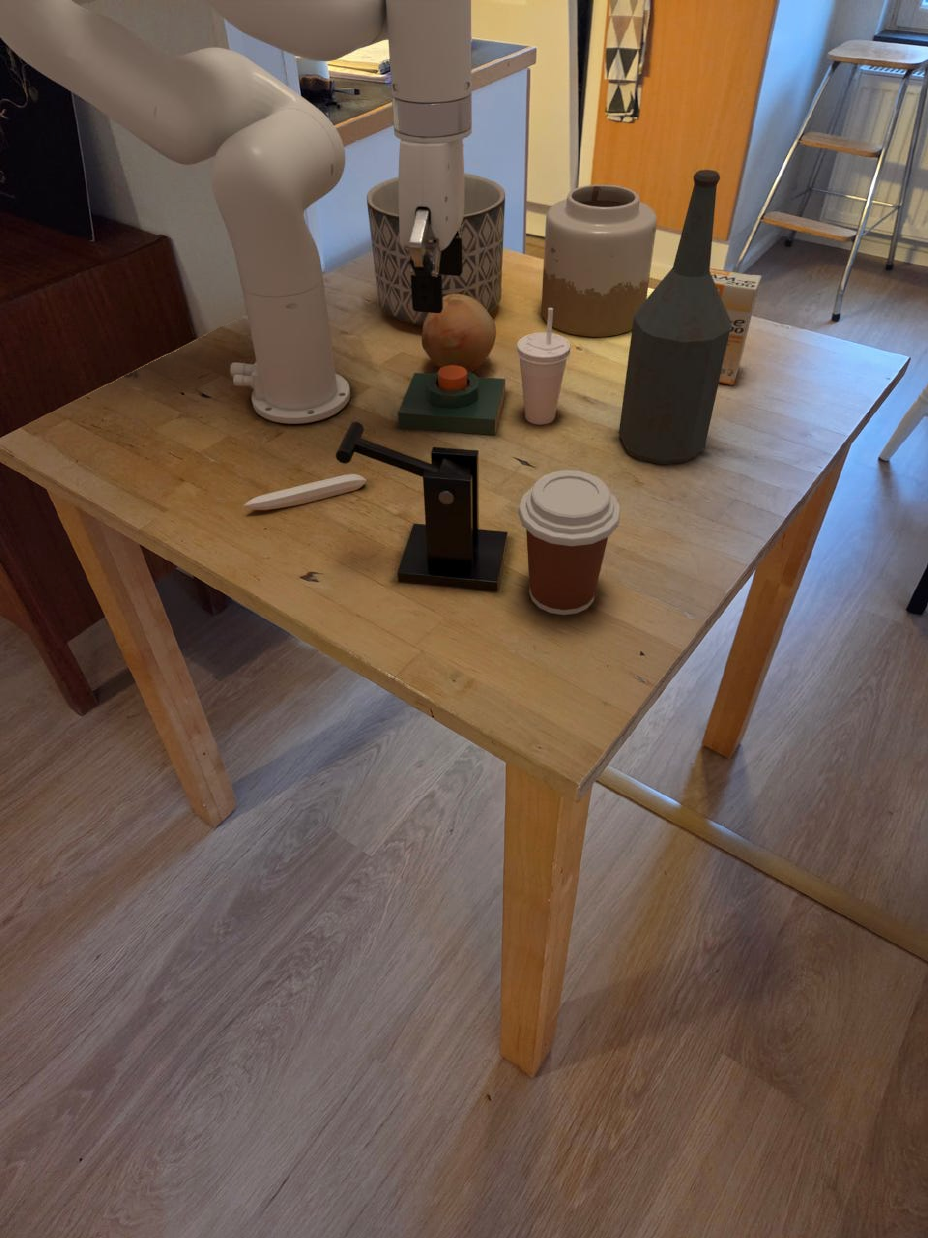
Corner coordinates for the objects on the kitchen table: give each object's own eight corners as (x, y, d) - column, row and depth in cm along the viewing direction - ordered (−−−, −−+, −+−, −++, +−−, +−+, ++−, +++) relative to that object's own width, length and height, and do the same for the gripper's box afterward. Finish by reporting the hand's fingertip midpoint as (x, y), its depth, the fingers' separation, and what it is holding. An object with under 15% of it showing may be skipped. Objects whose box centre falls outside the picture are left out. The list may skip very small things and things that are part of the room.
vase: (617, 347, 119) (632, 223, 107) (522, 322, 125) (527, 202, 113) (659, 306, 128) (677, 188, 117) (569, 285, 134) (578, 171, 123)
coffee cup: (559, 550, 87) (567, 450, 79) (628, 592, 83) (644, 492, 74) (496, 591, 83) (497, 491, 75) (565, 639, 78) (575, 537, 70)
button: (435, 391, 104) (435, 378, 103) (441, 376, 107) (440, 363, 105) (464, 393, 104) (464, 380, 102) (469, 378, 106) (469, 365, 105)
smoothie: (562, 432, 103) (570, 322, 94) (510, 427, 104) (513, 318, 95) (568, 406, 108) (576, 298, 98) (518, 401, 109) (522, 294, 99)
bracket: (397, 581, 84) (388, 483, 76) (414, 532, 90) (407, 435, 82) (497, 591, 83) (499, 492, 75) (507, 540, 89) (510, 443, 80)
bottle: (653, 411, 107) (695, 149, 86) (720, 441, 101) (782, 170, 81) (601, 444, 101) (633, 173, 81) (669, 477, 96) (721, 197, 75)
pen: (243, 511, 93) (240, 498, 92) (364, 480, 97) (363, 468, 96) (246, 519, 92) (243, 506, 91) (368, 487, 96) (367, 475, 95)
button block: (398, 428, 105) (396, 399, 102) (415, 387, 112) (413, 359, 109) (495, 435, 103) (495, 405, 100) (505, 394, 110) (505, 365, 108)
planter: (504, 337, 122) (506, 217, 110) (371, 338, 122) (359, 219, 111) (502, 282, 136) (503, 170, 124) (382, 283, 136) (373, 172, 124)
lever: (333, 464, 77) (338, 443, 76) (347, 435, 81) (352, 414, 79) (457, 509, 79) (465, 490, 77) (465, 478, 82) (473, 459, 81)
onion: (507, 377, 113) (509, 304, 106) (438, 392, 111) (435, 318, 104) (479, 346, 120) (479, 275, 113) (413, 359, 117) (409, 288, 110)
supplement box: (671, 376, 113) (688, 278, 104) (678, 360, 116) (695, 264, 107) (734, 387, 111) (756, 288, 102) (739, 370, 114) (762, 273, 105)
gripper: (416, 91, 87) (424, 259, 99) (368, 139, 75) (383, 324, 87) (488, 94, 86) (487, 263, 98) (450, 143, 74) (454, 330, 86)
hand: (438, 291), depth 93 cm, fingers open, 9 cm apart
